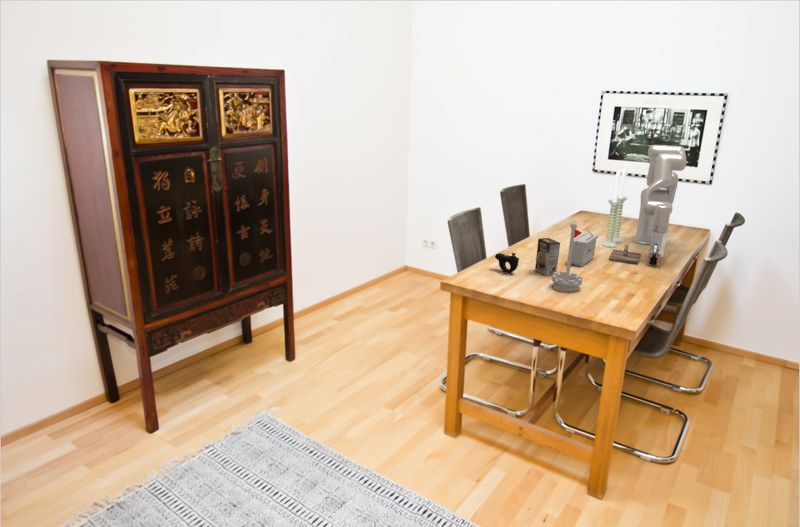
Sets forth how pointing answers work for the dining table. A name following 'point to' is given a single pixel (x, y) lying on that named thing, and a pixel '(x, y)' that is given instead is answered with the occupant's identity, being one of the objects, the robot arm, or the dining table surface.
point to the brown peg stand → (625, 256)
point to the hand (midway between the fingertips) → (653, 262)
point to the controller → (507, 258)
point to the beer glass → (663, 243)
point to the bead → (657, 259)
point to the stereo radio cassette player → (583, 248)
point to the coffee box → (547, 256)
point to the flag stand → (568, 269)
